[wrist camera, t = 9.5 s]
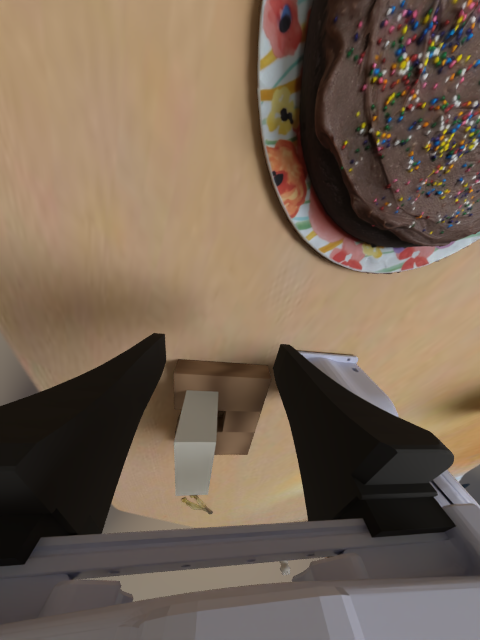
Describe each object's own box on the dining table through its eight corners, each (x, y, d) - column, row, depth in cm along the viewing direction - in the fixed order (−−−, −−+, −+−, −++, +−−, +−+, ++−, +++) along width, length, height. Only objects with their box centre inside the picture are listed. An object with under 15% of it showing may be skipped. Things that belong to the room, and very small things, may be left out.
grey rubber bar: (218, 391, 22) (216, 442, 17) (211, 443, 28) (207, 494, 22) (186, 390, 22) (174, 441, 16) (185, 443, 27) (175, 495, 22)
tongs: (209, 510, 48) (208, 520, 46) (181, 491, 43) (179, 503, 41) (222, 506, 48) (221, 516, 46) (195, 487, 42) (194, 498, 41)
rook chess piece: (280, 531, 60) (287, 572, 53) (287, 533, 62) (295, 572, 55) (270, 535, 61) (276, 575, 54) (278, 537, 63) (284, 576, 56)
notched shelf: (267, 365, 24) (271, 378, 22) (246, 439, 32) (247, 454, 30) (178, 359, 23) (173, 373, 20) (179, 438, 31) (175, 454, 28)
